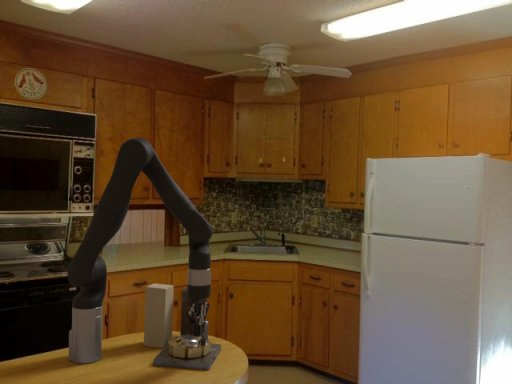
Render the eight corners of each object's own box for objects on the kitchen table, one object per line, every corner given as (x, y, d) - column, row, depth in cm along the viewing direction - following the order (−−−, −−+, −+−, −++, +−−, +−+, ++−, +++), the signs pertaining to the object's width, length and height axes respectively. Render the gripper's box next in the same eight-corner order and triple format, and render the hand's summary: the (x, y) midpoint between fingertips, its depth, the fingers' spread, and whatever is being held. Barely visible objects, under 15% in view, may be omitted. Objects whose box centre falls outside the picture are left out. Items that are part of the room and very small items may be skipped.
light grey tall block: (173, 342, 170) (174, 284, 170) (164, 348, 163) (165, 288, 163) (153, 339, 172) (154, 282, 172) (143, 346, 165) (144, 286, 165)
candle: (202, 343, 170) (204, 288, 170) (182, 345, 167) (184, 289, 167) (197, 336, 177) (198, 283, 177) (178, 338, 175) (179, 284, 174)
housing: (153, 365, 148) (154, 346, 148) (171, 346, 166) (171, 329, 166) (209, 370, 146) (209, 350, 146) (221, 349, 164) (221, 332, 164)
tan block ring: (197, 360, 147) (198, 327, 147) (160, 353, 152) (161, 321, 152) (216, 347, 160) (217, 316, 160) (181, 341, 165) (182, 311, 165)
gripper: (201, 287, 143) (199, 344, 143) (217, 279, 155) (216, 331, 155) (178, 285, 145) (177, 340, 145) (197, 277, 157) (196, 328, 158)
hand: (197, 335), depth 150 cm, fingers closed
